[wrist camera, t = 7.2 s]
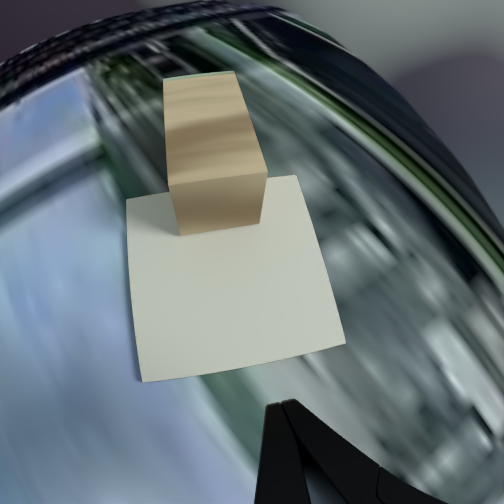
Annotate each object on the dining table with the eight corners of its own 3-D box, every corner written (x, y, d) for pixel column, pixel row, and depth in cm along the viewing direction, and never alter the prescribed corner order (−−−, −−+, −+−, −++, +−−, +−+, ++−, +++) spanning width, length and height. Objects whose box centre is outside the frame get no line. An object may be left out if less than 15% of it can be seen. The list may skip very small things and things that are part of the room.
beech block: (268, 172, 16) (233, 70, 20) (168, 185, 15) (163, 79, 19) (259, 223, 20) (231, 121, 25) (180, 235, 20) (170, 129, 24)
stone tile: (343, 344, 18) (346, 343, 18) (144, 382, 17) (142, 382, 16) (294, 178, 23) (295, 175, 22) (127, 202, 21) (126, 199, 21)
